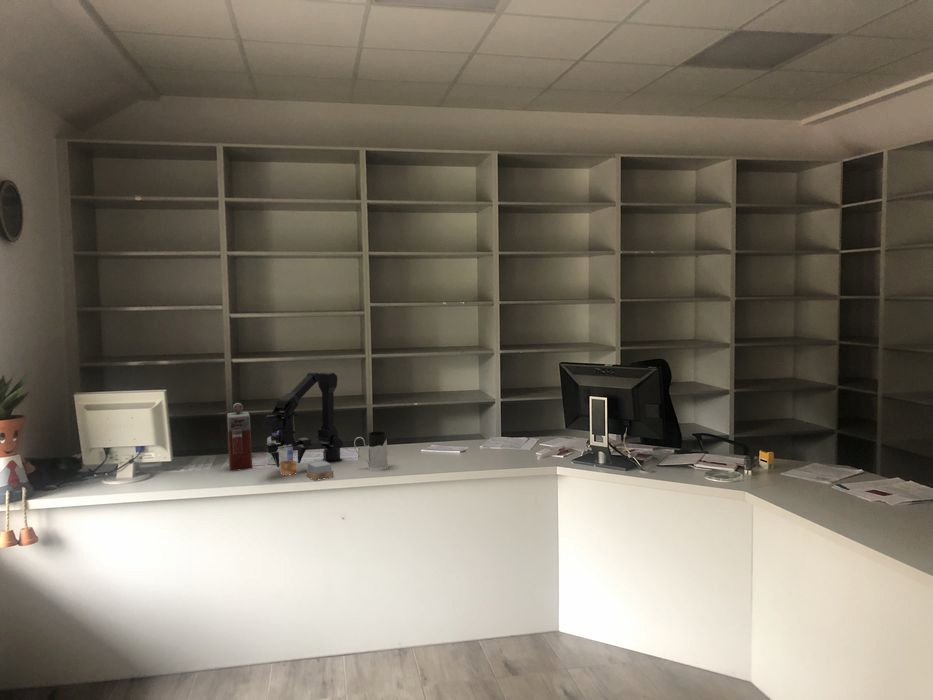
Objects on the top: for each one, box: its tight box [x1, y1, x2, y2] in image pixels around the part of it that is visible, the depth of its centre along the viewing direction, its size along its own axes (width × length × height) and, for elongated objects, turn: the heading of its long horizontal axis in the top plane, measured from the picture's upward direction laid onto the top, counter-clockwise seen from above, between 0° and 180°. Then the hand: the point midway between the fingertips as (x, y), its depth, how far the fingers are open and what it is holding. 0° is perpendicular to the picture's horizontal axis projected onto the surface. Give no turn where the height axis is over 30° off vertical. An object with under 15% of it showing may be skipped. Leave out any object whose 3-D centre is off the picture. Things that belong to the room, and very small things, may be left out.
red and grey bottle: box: [226, 402, 253, 471], centre depth 289 cm, size 9×11×28 cm
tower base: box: [306, 469, 335, 481], centre depth 274 cm, size 8×8×3 cm
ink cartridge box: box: [266, 431, 294, 465], centre depth 296 cm, size 10×6×14 cm, turn 78°
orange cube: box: [279, 460, 298, 476], centre depth 279 cm, size 5×5×5 cm
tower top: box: [307, 460, 332, 474], centre depth 274 cm, size 7×7×3 cm
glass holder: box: [353, 431, 389, 471], centre depth 286 cm, size 9×14×15 cm, turn 99°
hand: (288, 465), depth 279 cm, fingers open, 9 cm apart
